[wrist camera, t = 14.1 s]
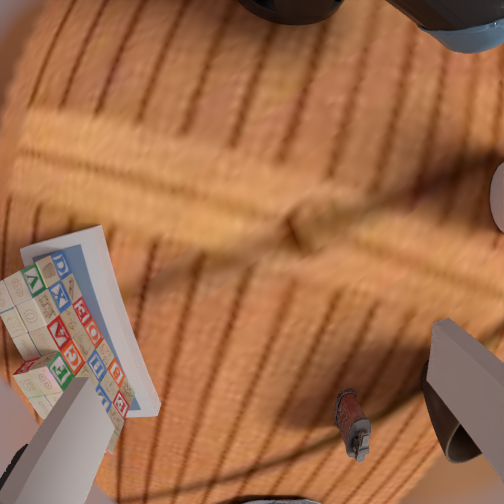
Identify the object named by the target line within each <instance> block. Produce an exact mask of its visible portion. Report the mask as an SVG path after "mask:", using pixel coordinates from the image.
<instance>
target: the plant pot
mask: <svg viewBox="0 0 504 504" xmlns="http://www.w3.org/2000/svg"><path fill="white" fill-rule="evenodd" d="M428 365H429V360H428V362H427V363H426V364H425V366H424V368H423V370H422V373H421V382H422V388H423V393H424V398H425V402H426V406H427V409H428V413H429V416H430V419H431V422H432V425H433V428H434V430H435V433H436V436H437V438H438V440H439V443H440V445H441V447H442V449H443V452H444V454H445V456H446V458H447V459H448V461H449V462H451V463H463V462H467V461H470V460H472V459H474V458H476V457H478V456H480V455H481V454H483V453H482V452H481V450H480V449H479V448H478V446H477V445H476V444H475V442H474V441H473V439H472V438H471V437H470V435H469V434H468V433H467V431H466V430H465V429H464V427H463V426H462V425H461V424H460V422H459V421H458V420H457V418H456V417H455V416H454V414H453V413H452V412H451V410H450V409H449V408H448V407H447V405H446V404H445V403H444V401H443V400H442V399H441V398H440V396H439V395H438V394H437V393H436V391H435V390H434V389H433V388H432V386H431V385H430V384H429V383H428V381H427V380H426V379H427V372H428Z"/></svg>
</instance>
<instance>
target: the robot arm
mask: <svg viewBox="0 0 504 504" xmlns="http://www.w3.org/2000/svg"><path fill="white" fill-rule="evenodd" d="M238 1H239V2H240V3H241V4H242V5H243V6H244V7H245V8H246V9H248V10H249V11H251V12H252V13H254V14H256V15H257V16H259V17H262V18H264V19H266V20H269V21H273V22H276V23H281V24H288V25H307V24H313V23H317V22H320V21H323V20H325V19H327V18H329V17H330V16H332V15H333V14H334V13H335V12H336V11H337V10H338V9H339V7H340V6H341V4H342V3H343V1H344V0H238ZM385 1H387V2H388V3H390V4H391V5H392V6H394V7H395V8H396V9H398V10H399V11H400V12H402V13H403V14H404V15H406V16H407V17H408V18H410V19H411V20H412V21H413V22H415V23H416V24H417V27H419V28H420V29H421V30H422V31H424V32H427V33H429V34H430V35H432V36H433V37H434V38H435V39H437V40H438V41H439V42H440V43H441V44H443V45H444V46H445V47H446V48H448V49H450V50H452V51H454V52H461V53H464V54H472V53H479V52H483V51H486V50H489V49H492V48H494V47H496V46H499V45H500V44H502V43H504V0H385ZM426 380H427V381H428V383H429V384H430V385H431V386H432V388H433V389H434V390H435V391H436V393H437V394H438V395H439V396H440V398H441V399H442V400H443V401H444V403H445V404H446V405H447V407H448V408H449V409H450V410H451V412H452V413H453V414H454V416H455V417H456V418H457V420H458V421H459V422H460V424H461V425H462V426H463V427H464V429H465V430H466V431H467V433H468V434H469V435H470V437H471V438H472V439H473V441H474V442H475V444H476V445H477V446H478V448H479V449H480V450H481V452H482V453H483V454H484V456H485V457H486V459H487V460H488V461H489V463H490V464H491V466H492V467H493V468H494V470H495V471H496V473H497V474H498V475H499V477H500V478H501V480H502V481H503V483H504V363H503V362H502V361H501V360H499V359H498V358H497V357H496V356H495V355H494V354H492V353H491V352H490V351H489V350H488V349H487V348H485V347H484V346H483V345H482V344H481V343H479V342H478V341H477V340H476V339H475V338H473V337H472V336H471V335H470V334H468V333H467V332H466V331H465V330H464V329H462V328H461V327H460V326H459V325H457V324H456V323H455V322H454V321H452V320H451V319H450V318H446V319H443V320H440V321H437V322H434V323H433V330H432V340H431V349H430V357H429V365H428V372H427V379H426ZM114 429H115V427H114V425H113V424H112V422H111V420H110V418H109V416H108V414H107V412H106V410H105V408H104V406H103V404H102V402H101V400H100V398H99V396H98V394H97V392H96V390H95V388H94V386H93V384H92V382H91V379H90V377H74V378H73V379H72V381H71V382H70V384H69V385H68V386H67V388H66V389H65V391H64V392H63V394H62V395H61V396H60V398H59V399H58V401H57V402H56V404H55V405H54V407H53V408H52V410H51V411H50V413H49V414H48V416H47V417H46V419H45V420H44V422H43V423H42V425H41V426H40V428H39V429H38V431H37V432H36V434H35V435H34V437H33V438H32V440H31V441H30V443H29V444H26V445H25V446H23V447H22V448H21V449H20V450H19V451H17V453H16V454H15V456H14V457H13V459H12V461H11V464H9V465H8V467H7V469H6V472H4V473H3V475H2V477H1V478H0V504H85V501H86V498H87V495H88V493H89V490H90V488H91V485H92V483H93V480H94V478H95V475H96V473H97V470H98V468H99V465H100V463H101V460H102V458H103V455H104V453H105V451H106V448H107V446H108V443H109V441H110V439H111V436H112V434H113V432H114Z"/></svg>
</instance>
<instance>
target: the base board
mask: <svg viewBox="0 0 504 504" xmlns="http://www.w3.org/2000/svg"><path fill="white" fill-rule="evenodd" d="M60 250H63V252H64V254H65V257H66V259H67V261H68V264H69V266H70V268H71V271H72V273H73V275H74V278H75V280H76V282H77V284H78V287H79V289H80V291H81V293H82V297H83V299H84V301H85V303H86V305H87V307H88V309H89V311H90V314H91V315H92V318H93V319H94V321H95V323H96V325H97V327H98V329H99V331H100V333H101V334H102V336H103V338H104V339H105V340H106V342H107V344H108V346H109V347H110V349H111V351H112V353H113V355H114V357H115V359H116V360H117V362H118V364H119V365H120V367H121V369H122V371H123V372H124V374H125V377H126V378H127V380H128V382H129V383H130V385H131V387H132V388H133V390H134V391H135V395H134V398H133V401H132V403H131V405H130V406H129V410H128V412H127V415H126V417H149V416H158V412H159V409H160V406H161V402H160V400H159V397H158V395H157V393H156V390H155V388H154V385H153V383H152V381H151V378H150V376H149V373H148V371H147V368H146V365H145V363H144V360H143V358H142V355H141V352H140V350H139V347H138V344H137V342H136V339H135V336H134V333H133V330H132V327H131V325H130V322H129V319H128V316H127V313H126V310H125V307H124V303H123V300H122V297H121V294H120V291H119V287H118V284H117V281H116V277H115V274H114V270H113V267H112V263H111V260H110V256H109V252H108V248H107V245H106V241H105V237H104V233H103V229H102V225H98V226H94V227H91V228H87V229H83V230H79V231H76V232H72V233H69V234H65V235H62V236H58V237H55V238H51V239H48V240H44V241H41V242H37V243H34V244H31V245H28V246H26V247H23V248H21V249H20V253H21V256H22V260H23V264H24V267H26V266H28V265H30V264H32V263H34V262H36V261H38V260H40V259H42V258H45V257H47V256H49V255H51V254H54V253H56V252H58V251H60Z"/></svg>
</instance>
